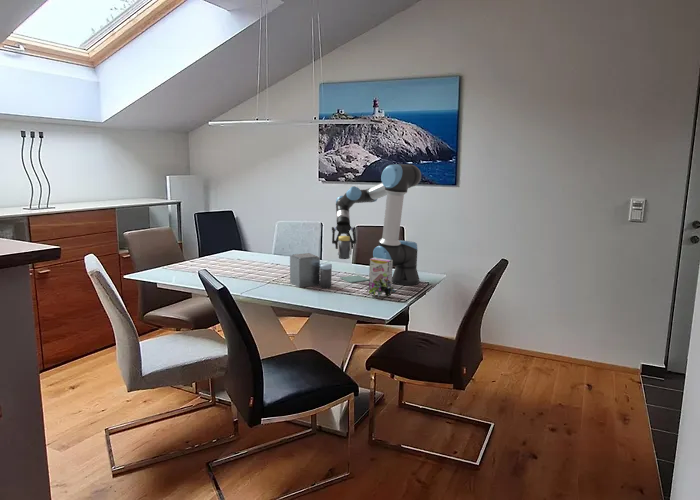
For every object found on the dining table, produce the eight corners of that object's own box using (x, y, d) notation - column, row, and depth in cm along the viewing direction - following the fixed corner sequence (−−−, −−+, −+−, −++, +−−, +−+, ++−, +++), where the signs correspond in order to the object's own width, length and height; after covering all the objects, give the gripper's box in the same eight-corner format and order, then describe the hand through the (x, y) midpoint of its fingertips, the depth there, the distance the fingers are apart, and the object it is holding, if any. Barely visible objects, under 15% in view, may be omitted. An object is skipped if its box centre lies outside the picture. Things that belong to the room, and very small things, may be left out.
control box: (319, 284, 277) (319, 256, 274) (299, 287, 271) (299, 258, 268) (309, 280, 288) (309, 252, 285) (289, 282, 282) (289, 254, 279)
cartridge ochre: (351, 258, 285) (352, 236, 283) (342, 259, 282) (342, 237, 279) (346, 256, 290) (346, 235, 288) (336, 257, 287) (336, 236, 285)
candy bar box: (368, 289, 269) (369, 258, 266) (373, 287, 273) (373, 257, 270) (387, 292, 263) (388, 261, 260) (392, 290, 268) (393, 259, 265)
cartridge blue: (333, 287, 272) (333, 265, 270) (323, 288, 269) (323, 266, 267) (328, 284, 278) (328, 263, 275) (317, 286, 275) (317, 264, 272)
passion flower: (386, 306, 258) (400, 288, 254) (375, 307, 249) (390, 289, 245) (371, 290, 263) (386, 273, 259) (360, 291, 254) (375, 273, 250)
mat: (369, 280, 288) (369, 279, 288) (350, 283, 282) (350, 281, 282) (358, 276, 298) (358, 275, 298) (340, 278, 292) (340, 277, 292)
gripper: (359, 223, 298) (361, 256, 285) (326, 223, 297) (327, 257, 284) (360, 215, 292) (362, 249, 279) (326, 215, 291) (327, 249, 278)
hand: (344, 253), depth 282 cm, fingers closed on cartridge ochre, 6 cm apart
